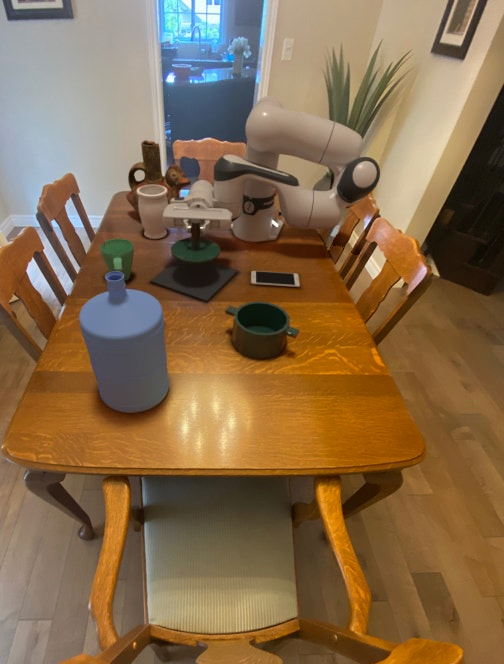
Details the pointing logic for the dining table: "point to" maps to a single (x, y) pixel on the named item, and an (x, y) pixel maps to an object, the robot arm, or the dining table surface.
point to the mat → (195, 279)
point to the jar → (152, 209)
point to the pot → (260, 329)
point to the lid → (195, 247)
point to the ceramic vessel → (155, 175)
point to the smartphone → (275, 279)
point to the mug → (118, 256)
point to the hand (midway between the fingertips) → (195, 230)
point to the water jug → (126, 346)
